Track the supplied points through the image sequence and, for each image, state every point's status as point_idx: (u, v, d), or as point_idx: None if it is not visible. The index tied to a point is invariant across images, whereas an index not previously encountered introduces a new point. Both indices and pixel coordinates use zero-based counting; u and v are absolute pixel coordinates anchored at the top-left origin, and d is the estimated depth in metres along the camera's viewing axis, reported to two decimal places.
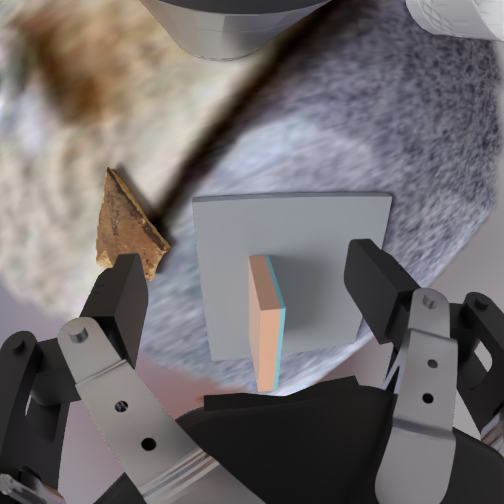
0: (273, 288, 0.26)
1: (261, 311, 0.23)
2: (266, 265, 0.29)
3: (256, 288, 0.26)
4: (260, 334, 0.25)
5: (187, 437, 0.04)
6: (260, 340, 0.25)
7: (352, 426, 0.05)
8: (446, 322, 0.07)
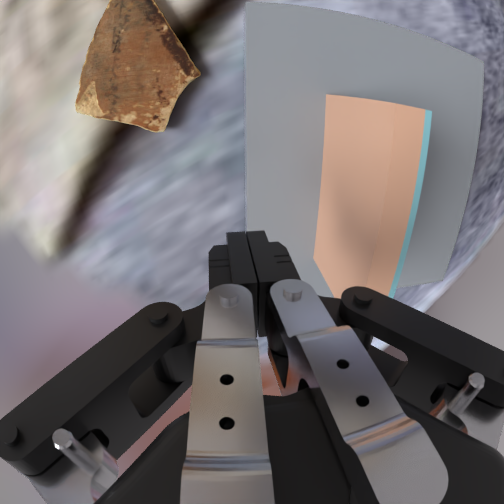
0: None
1: (397, 105, 0.10)
2: None
3: (365, 99, 0.12)
4: (389, 169, 0.11)
5: (264, 436, 0.04)
6: (387, 186, 0.12)
7: None
8: (298, 316, 0.07)
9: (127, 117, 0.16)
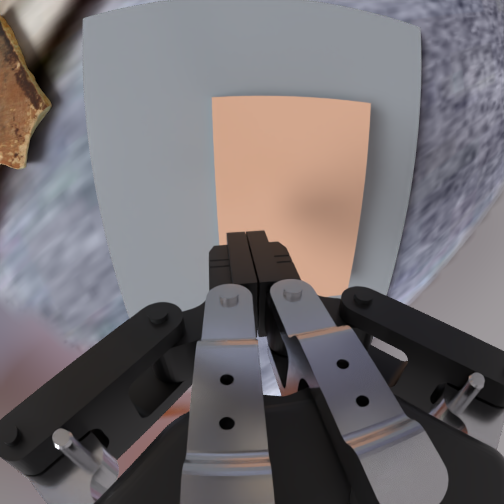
0: None
1: (370, 104, 0.13)
2: None
3: (319, 98, 0.13)
4: (365, 154, 0.15)
5: (264, 436, 0.04)
6: (364, 167, 0.15)
7: None
8: (297, 316, 0.07)
9: None
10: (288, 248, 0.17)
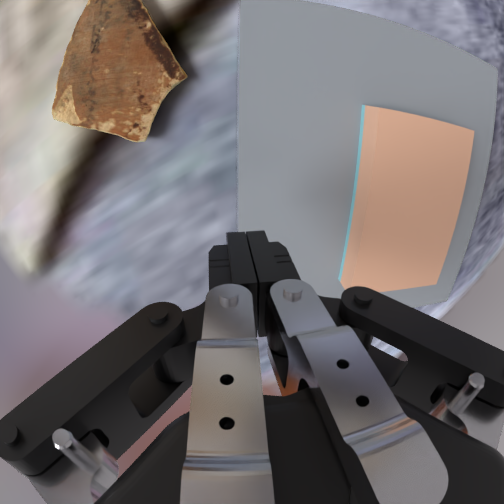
0: None
1: (473, 131, 0.14)
2: None
3: (446, 122, 0.14)
4: (467, 170, 0.16)
5: (264, 436, 0.04)
6: (465, 180, 0.16)
7: None
8: (298, 316, 0.07)
9: (105, 125, 0.14)
10: (408, 243, 0.18)
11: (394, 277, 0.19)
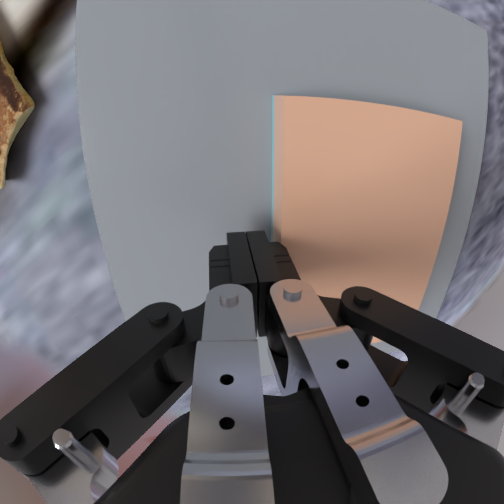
0: None
1: (461, 123, 0.10)
2: None
3: (413, 110, 0.09)
4: (452, 181, 0.11)
5: (265, 435, 0.04)
6: (449, 197, 0.11)
7: None
8: (297, 316, 0.07)
9: None
10: None
11: None
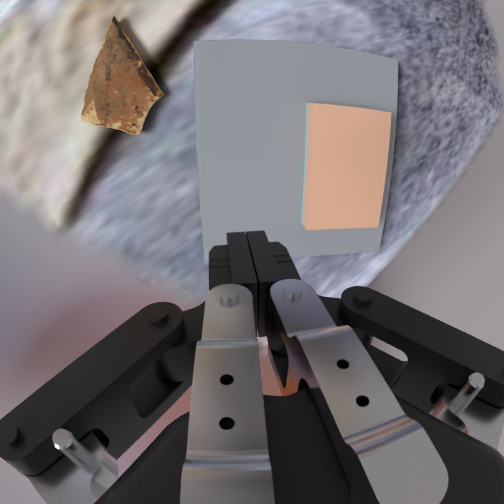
0: None
1: (391, 113, 0.24)
2: None
3: (365, 108, 0.24)
4: (388, 140, 0.25)
5: (264, 436, 0.04)
6: (388, 147, 0.26)
7: None
8: (298, 316, 0.07)
9: (115, 124, 0.23)
10: (346, 192, 0.27)
11: (340, 218, 0.29)
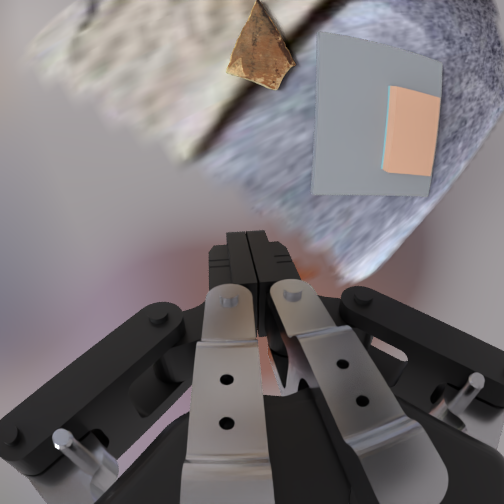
0: None
1: None
2: None
3: None
4: (438, 116, 0.33)
5: (264, 436, 0.04)
6: (437, 121, 0.33)
7: None
8: (298, 316, 0.07)
9: (259, 79, 0.31)
10: (413, 148, 0.35)
11: (408, 166, 0.36)
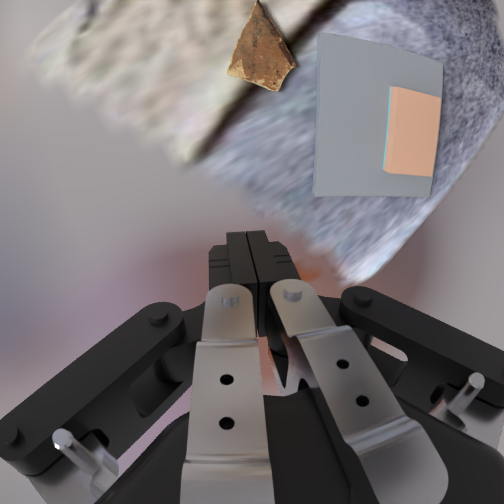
0: None
1: (440, 98, 0.32)
2: None
3: (426, 94, 0.31)
4: (439, 116, 0.33)
5: (264, 436, 0.04)
6: (438, 121, 0.33)
7: None
8: (298, 316, 0.07)
9: (259, 81, 0.31)
10: (414, 149, 0.35)
11: (410, 167, 0.36)
